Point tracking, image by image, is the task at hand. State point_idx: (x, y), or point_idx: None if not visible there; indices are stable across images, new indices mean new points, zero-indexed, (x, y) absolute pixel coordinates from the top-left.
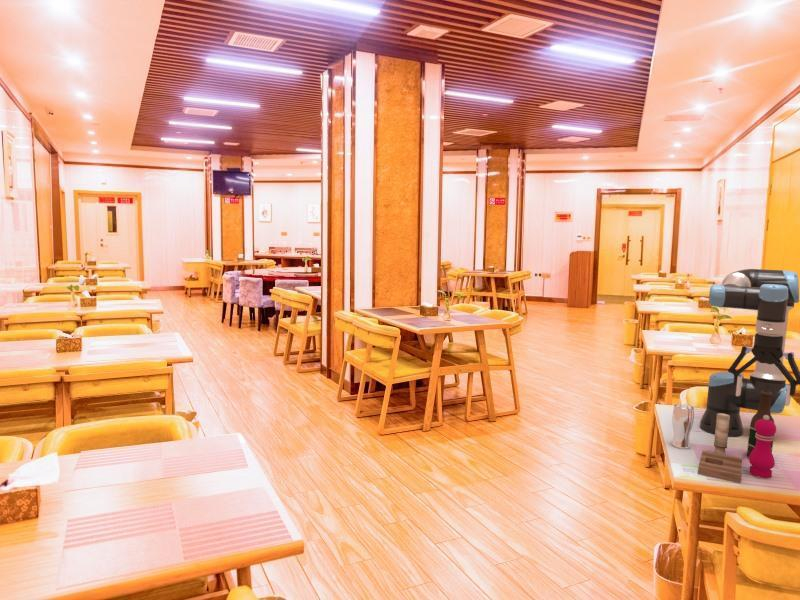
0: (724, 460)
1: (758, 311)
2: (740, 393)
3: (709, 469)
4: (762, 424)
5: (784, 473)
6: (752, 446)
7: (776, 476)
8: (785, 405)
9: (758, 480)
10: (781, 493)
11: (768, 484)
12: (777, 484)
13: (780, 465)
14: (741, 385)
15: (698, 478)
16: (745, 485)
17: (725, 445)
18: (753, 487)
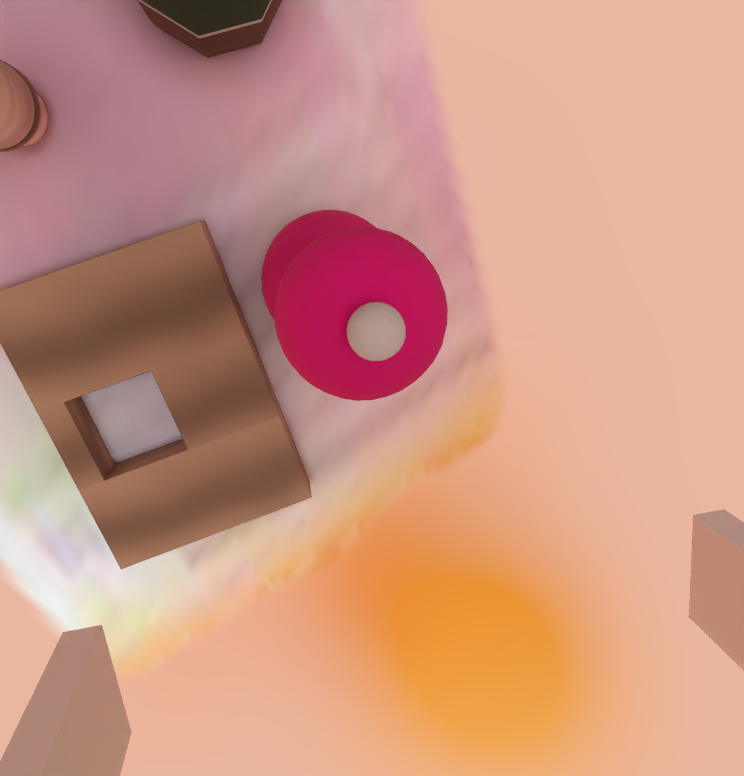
0: (155, 360)
1: None
2: (99, 651)
3: (172, 548)
4: (364, 395)
5: (405, 144)
6: (179, 26)
7: None
8: (693, 616)
9: None
10: (470, 435)
11: None
12: None
13: (349, 13)
14: (52, 754)
15: (161, 591)
16: (334, 484)
17: (30, 119)
18: (366, 475)
